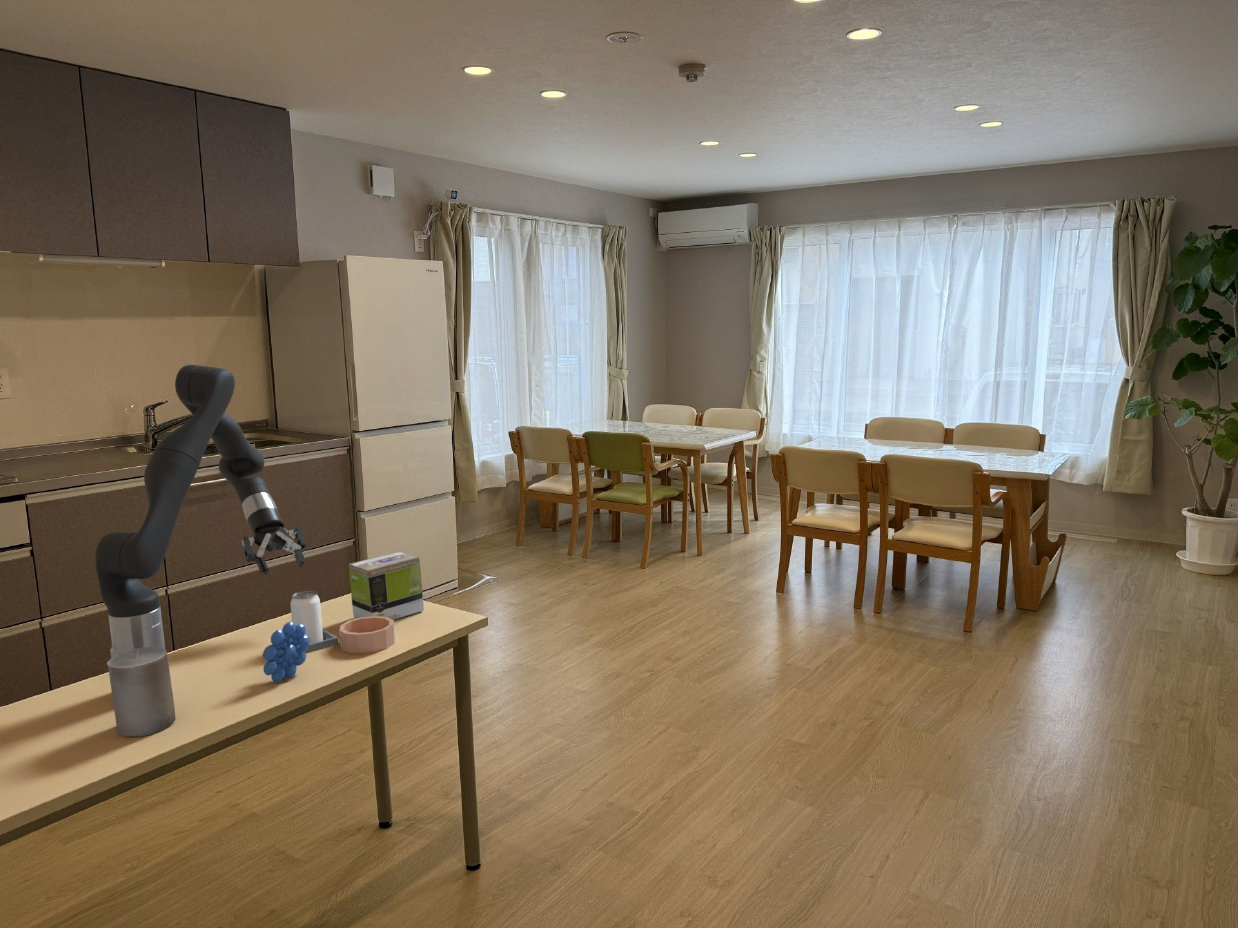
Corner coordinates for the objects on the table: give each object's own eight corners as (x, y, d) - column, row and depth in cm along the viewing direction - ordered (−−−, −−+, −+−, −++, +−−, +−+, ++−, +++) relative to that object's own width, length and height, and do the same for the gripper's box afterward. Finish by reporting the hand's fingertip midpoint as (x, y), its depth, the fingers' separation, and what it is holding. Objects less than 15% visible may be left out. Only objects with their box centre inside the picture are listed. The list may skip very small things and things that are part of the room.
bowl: (355, 657, 188) (354, 638, 188) (332, 643, 197) (331, 625, 196) (404, 643, 196) (402, 624, 196) (379, 630, 205) (378, 612, 204)
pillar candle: (167, 708, 164) (158, 635, 162) (182, 725, 157) (172, 649, 155) (111, 726, 158) (100, 650, 155) (124, 743, 151) (112, 664, 148)
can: (304, 651, 193) (300, 600, 191) (288, 645, 197) (284, 595, 195) (328, 642, 198) (325, 593, 196) (313, 636, 202) (309, 588, 200)
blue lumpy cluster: (297, 664, 185) (292, 612, 183) (319, 669, 182) (314, 616, 180) (251, 684, 175) (246, 629, 173) (274, 690, 172) (268, 634, 170)
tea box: (403, 603, 225) (400, 550, 223) (424, 611, 218) (421, 556, 216) (351, 618, 215) (347, 562, 212) (372, 627, 208) (368, 569, 205)
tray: (296, 655, 190) (295, 648, 190) (279, 643, 198) (278, 637, 197) (338, 643, 197) (337, 637, 197) (320, 632, 204) (320, 626, 204)
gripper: (235, 511, 202) (257, 566, 196) (294, 501, 212) (316, 554, 205) (230, 529, 207) (251, 583, 201) (287, 519, 217) (309, 571, 210)
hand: (284, 568), depth 203 cm, fingers open, 8 cm apart
